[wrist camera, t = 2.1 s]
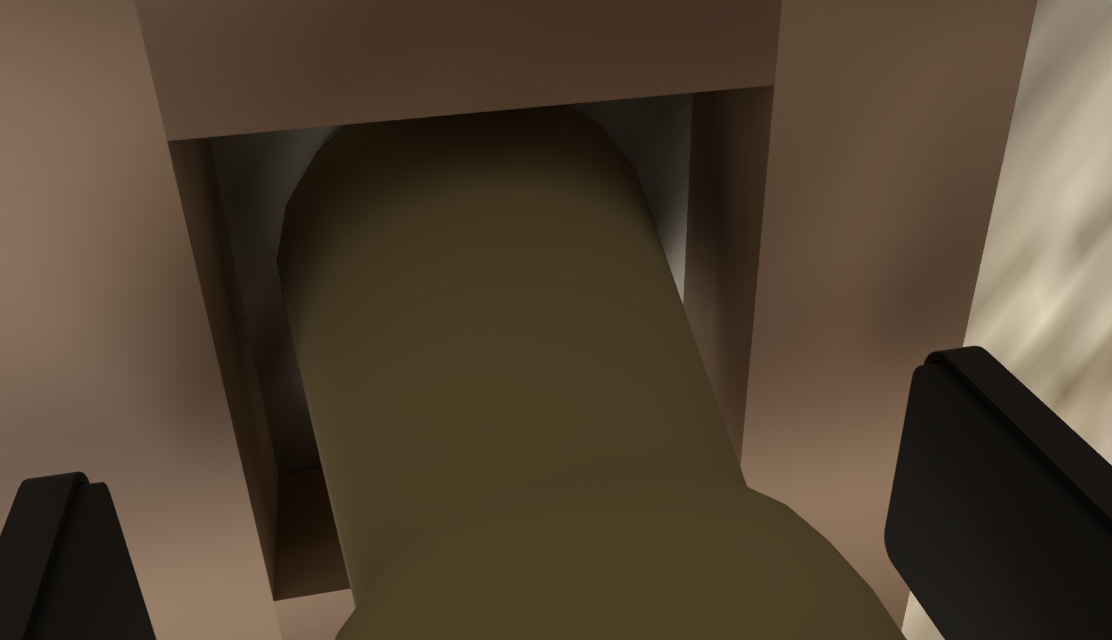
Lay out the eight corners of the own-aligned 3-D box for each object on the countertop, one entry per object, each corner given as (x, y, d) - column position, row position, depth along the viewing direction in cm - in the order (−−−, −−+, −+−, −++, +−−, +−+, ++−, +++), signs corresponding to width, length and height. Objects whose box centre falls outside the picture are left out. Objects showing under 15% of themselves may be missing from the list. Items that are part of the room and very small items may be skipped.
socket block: (-179, -206, 12) (-314, -184, 9) (947, -248, 14) (1089, -239, 11) (120, 645, 19) (91, 789, 16) (829, 526, 21) (900, 636, 19)
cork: (487, 472, 19) (664, 1224, 9) (195, 297, 16) (33, 1138, 6) (724, 235, 17) (1214, 852, 8) (450, -6, 14) (717, 518, 5)
